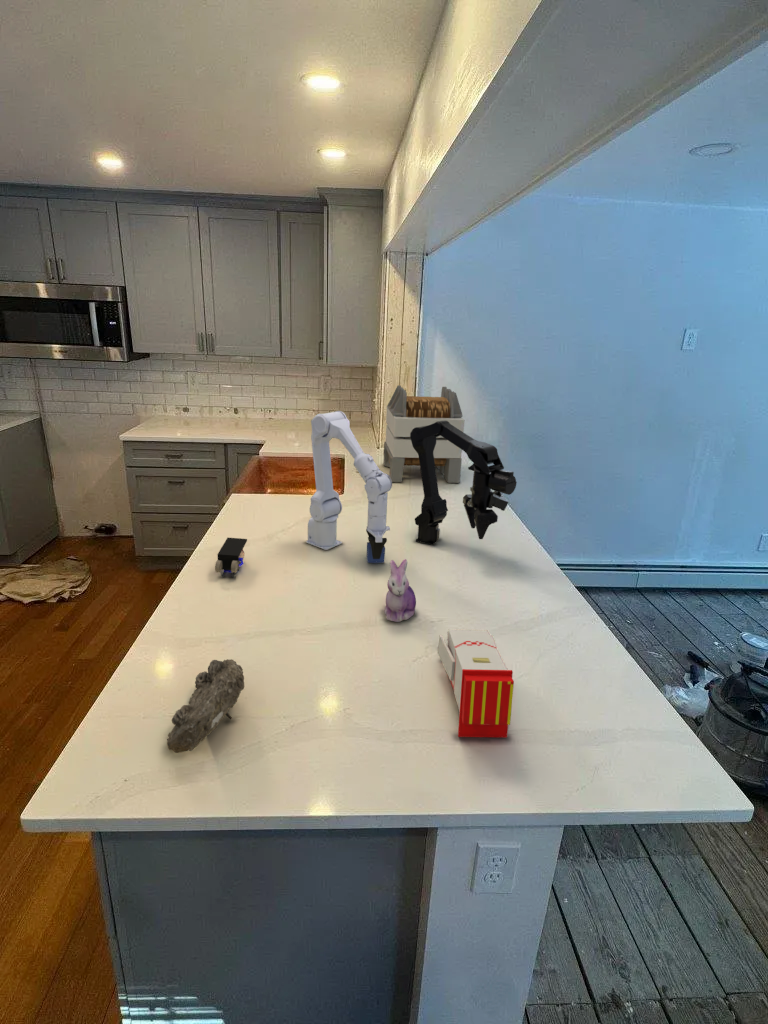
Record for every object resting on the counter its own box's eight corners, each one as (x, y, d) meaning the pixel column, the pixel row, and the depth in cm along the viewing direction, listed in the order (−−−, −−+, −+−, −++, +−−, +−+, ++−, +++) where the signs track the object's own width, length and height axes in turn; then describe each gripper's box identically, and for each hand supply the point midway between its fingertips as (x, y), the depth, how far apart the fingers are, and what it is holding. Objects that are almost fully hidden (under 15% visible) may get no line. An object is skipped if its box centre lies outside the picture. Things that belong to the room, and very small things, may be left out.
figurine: (392, 627, 141) (395, 572, 136) (374, 608, 149) (376, 556, 144) (425, 619, 145) (429, 566, 140) (405, 601, 154) (408, 550, 149)
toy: (488, 613, 130) (523, 677, 101) (484, 667, 133) (517, 744, 104) (435, 612, 130) (455, 676, 101) (432, 666, 133) (451, 743, 103)
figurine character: (238, 584, 162) (249, 557, 175) (236, 562, 158) (247, 536, 172) (215, 584, 161) (227, 556, 175) (212, 561, 158) (225, 535, 171)
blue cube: (384, 562, 174) (385, 547, 173) (367, 562, 174) (368, 548, 172) (382, 556, 179) (383, 541, 177) (366, 556, 178) (366, 542, 176)
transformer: (382, 463, 289) (386, 382, 275) (445, 464, 293) (451, 384, 279) (390, 482, 257) (394, 392, 243) (460, 483, 261) (468, 394, 247)
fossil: (192, 660, 117) (244, 628, 112) (224, 691, 120) (276, 661, 115) (142, 746, 98) (202, 712, 93) (182, 779, 101) (242, 748, 96)
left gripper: (393, 522, 165) (391, 564, 169) (387, 505, 178) (385, 545, 183) (369, 522, 164) (367, 565, 169) (365, 505, 178) (363, 545, 182)
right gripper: (517, 496, 166) (510, 545, 171) (498, 477, 183) (492, 522, 189) (480, 495, 165) (475, 545, 170) (464, 477, 182) (460, 522, 187)
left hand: (375, 554), depth 176 cm, fingers closed on blue cube, 5 cm apart
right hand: (476, 533), depth 179 cm, fingers open, 9 cm apart
